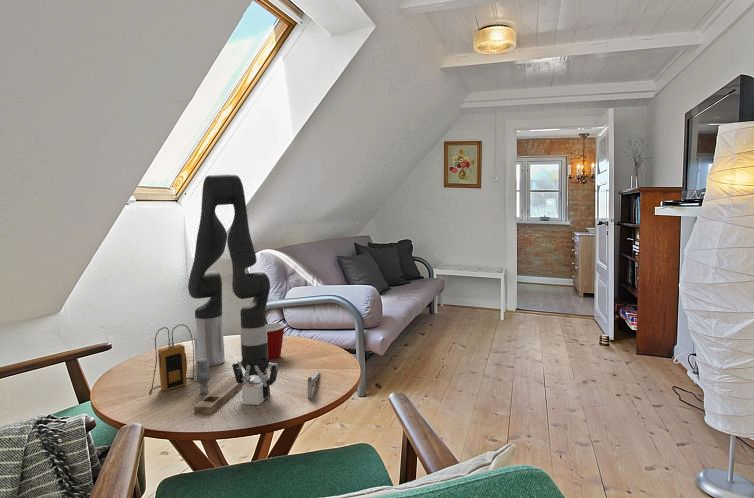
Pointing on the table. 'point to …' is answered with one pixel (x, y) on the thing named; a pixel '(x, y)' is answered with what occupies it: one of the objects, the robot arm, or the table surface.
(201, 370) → the grey stepped cylinder
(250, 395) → the block
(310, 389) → the caliper
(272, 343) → the plastic cup
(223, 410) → the table surface
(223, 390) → the bar
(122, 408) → the table surface
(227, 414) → the table surface
